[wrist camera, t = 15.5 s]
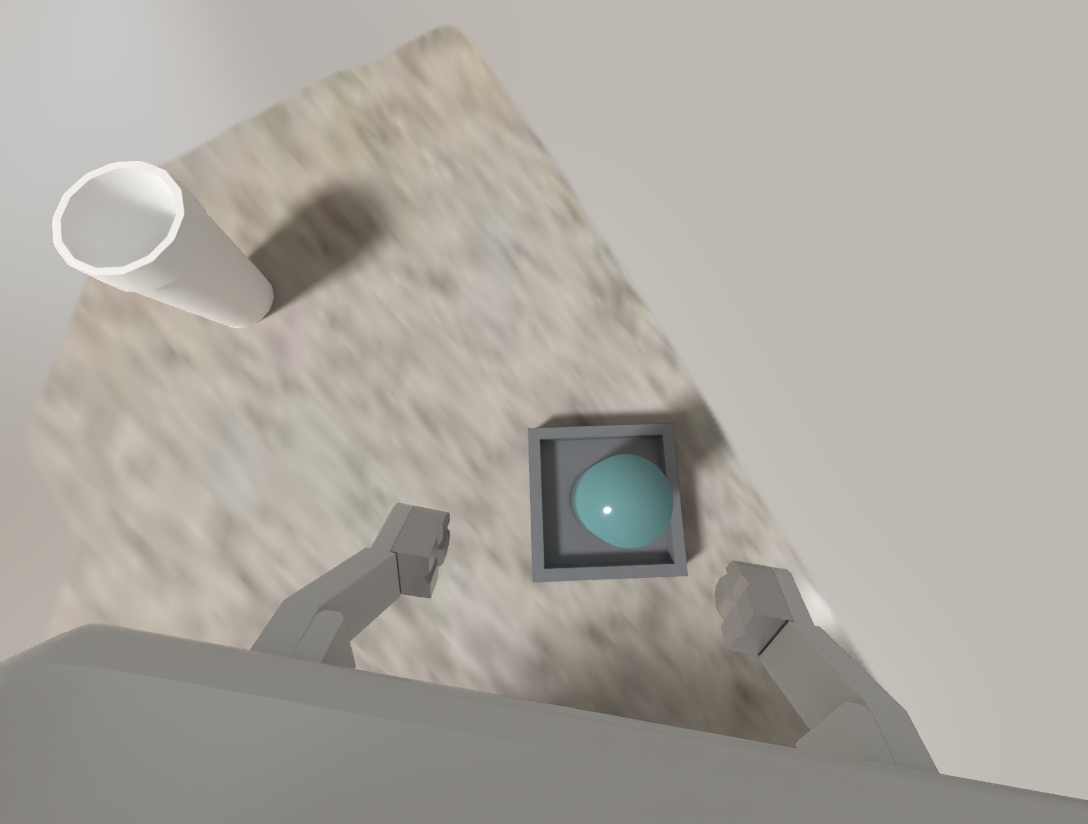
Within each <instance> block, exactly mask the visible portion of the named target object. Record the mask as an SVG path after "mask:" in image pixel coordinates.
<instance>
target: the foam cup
mask: <svg viewBox="0 0 1088 824" xmlns="http://www.w3.org/2000/svg"><path fill="white" fill-rule="evenodd" d="M52 227H53V244H54V246H55V247H56V249H57V250H58V252H59V253H60V254H61V256H62V257H63V258H64V260H65V261H66V263H67V264H68V265H70V266H72V267H74V268H76V269H78V270H80V271H82V272H84V273H86V274H88V275H90V276H92V277H94V278H96V279H98V280H100V281H102V282H104V283H107V284H109V285H111V286H114V287H116V288H118V289H121V290H123V291H133V292H136V293H138V294H141V295H144V296H147V297H150V298H152V299H155V300H158V301H161V302H163V303H166V304H169V305H172V306H174V307H177V308H180V309H183V310H185V311H188V312H191V313H194V314H196V315H199V316H202V317H205V318H207V319H210V320H213V321H216V322H218V323H221V324H224V325H227V326H230V327H233V328H237V327H248V326H251V325H253V324H255V323H257V322H259V321H261V320H262V318H263V317H264V316H265V315H266V314H267V313H268V312H269V311H270V309H271V306H272V303H273V300H274V294H273V288H272V285H271V284H270V283H269V281H268V280H267V279H266V278H265V276H264V275H263V274H262V273H261V272H260V271H259V270H258V268H257V267H256V266H255V265H254V264H253V263H252V262H251V261H250V260H249V259H248V258H247V256H246V255H245V254H244V253H243V252H242V251H241V250H240V249H239V248H238V247H237V246H236V244H235V243H234V242H233V241H232V240H231V239H230V238H229V237H228V236H227V235H226V234H225V232H224V231H223V230H222V229H221V228H220V227H219V226H218V225H217V224H216V223H215V222H214V220H213V219H212V218H211V217H210V216H209V215H208V214H207V213H206V210H205V209H204V207H203V206H202V205H201V204H200V202H199V201H198V200H197V199H196V198H195V196H194V195H193V194H192V193H191V192H190V191H189V190H188V189H187V188H185V187H184V186H183V185H182V184H181V183H180V182H179V181H177V180H176V179H175V178H174V177H173V176H172V175H170V174H169V173H168V172H167V171H165V170H163V169H160V168H158V167H155V166H153V165H150V164H148V163H145V162H143V161H135V162H113V163H111V164H108V165H106V166H103V167H101V168H99V169H96V170H94V171H92V172H89V173H87V174H85V175H84V176H83V177H82V178H81V179H80V180H78V181H77V182H76V183H75V184H74V185H73V186H72V187H71V188H70V189H69V190H68V191H66V192H65V194H64V195H63V197H62V199H61V201H60V203H59V205H58V208H57V210H56V212H55V214H54V216H53V218H52Z"/></svg>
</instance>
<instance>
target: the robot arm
mask: <svg viewBox="0 0 1088 824" xmlns="http://www.w3.org/2000/svg"><path fill="white" fill-rule="evenodd" d="M449 521H450V515H449V513H448V512H443V511H438V510H433V509H428V508H423V507H418V506H412V505H407V504H402V503H397V504H396V505H395V506H394V507H393V509H392V511H391V512H390V514H389V516H388V518H387V520H386V521H385V523H384V525H383V527H382V529H381V531H380V532H379V534H378V536H377V538H376V540H375V541H374V543H373V545H372V547H371V548H364V549H363V550H361V551H360V552H358V553H357V554H355V555H353V556H352V557H350V558H349V559H347V560H346V561H344V562H343V563H341V564H339V565H338V566H336V567H335V568H333V569H332V570H330V571H329V572H327V573H325V574H324V575H322V576H321V577H319V578H318V579H316V580H315V581H313V582H311V583H310V584H308V585H307V586H305V587H304V588H302V589H301V590H299V591H297V592H296V593H294V594H293V595H291V596H290V597H288V598H287V599H285V600H284V601H283V602H282V604H281V605H280V607H279V608H278V609H277V611H276V612H275V614H274V615H273V617H272V618H271V620H270V621H269V623H268V624H267V626H266V627H265V629H264V630H263V632H262V633H261V635H260V636H259V638H258V639H257V640H256V642H255V643H254V645H253V646H252V648H251V649H250V650H246V649H240V648H235V647H229V646H224V645H218V644H213V643H207V642H201V641H196V640H190V639H185V638H179V637H174V636H168V635H163V634H157V633H152V632H146V631H141V630H135V629H130V628H125V627H119V626H114V625H107V624H88V625H84V626H81V627H78V628H76V629H73V630H70V631H68V632H65V633H63V634H60V635H58V636H56V637H54V638H51V639H49V640H47V641H45V642H43V643H40V644H38V645H36V646H34V647H31V648H29V649H27V650H25V651H23V652H21V653H19V654H17V655H15V656H13V657H11V658H8V659H6V660H4V661H2V662H0V824H1088V800H1083V799H1077V798H1071V797H1066V796H1060V795H1055V794H1049V793H1043V792H1038V791H1032V790H1027V789H1021V788H1015V787H1010V786H1004V785H999V784H993V783H987V782H982V781H977V780H971V779H965V778H960V777H954V776H948V775H943V774H939V772H938V770H937V768H936V766H935V764H934V762H933V761H932V759H931V757H930V755H929V753H928V751H927V749H926V747H925V745H924V744H923V742H922V740H921V738H920V736H919V734H918V732H917V730H916V729H915V727H914V725H913V723H912V721H911V719H910V717H909V715H908V713H907V711H906V710H905V709H904V708H903V707H901V705H900V704H898V702H896V701H895V700H894V699H893V698H892V697H891V696H890V695H889V694H888V693H887V692H886V691H885V690H884V689H883V688H882V687H881V686H880V685H879V684H878V683H877V682H876V681H875V680H874V679H873V678H872V677H871V676H870V675H869V674H868V673H867V672H866V671H865V670H864V669H863V668H862V667H861V666H860V665H859V664H857V663H856V662H855V661H854V660H853V659H852V658H851V657H850V656H849V655H848V654H847V653H846V652H845V651H844V650H843V649H842V648H841V647H840V646H839V645H838V644H837V643H836V642H835V641H834V640H833V639H832V638H831V637H830V636H829V635H828V634H827V633H826V632H825V631H824V630H823V629H822V628H821V627H819V626H814V624H813V622H812V619H811V617H810V615H809V613H808V610H807V608H806V606H805V604H804V601H803V599H802V597H801V595H800V592H799V590H798V588H797V586H796V583H795V581H794V579H793V577H792V574H791V573H790V572H789V571H788V570H786V569H780V568H774V567H767V566H764V565H758V564H751V563H745V562H739V561H732V562H730V563H729V564H728V566H727V567H726V570H727V575H725V576H723V577H721V578H720V579H719V581H718V583H717V585H716V591H715V603H716V607H717V611H718V612H719V614H720V615H721V616H722V617H723V618H724V619H725V621H724V623H723V624H722V626H721V627H722V631H723V635H724V639H725V643H726V647H727V650H728V651H733V652H737V653H742V654H747V655H752V656H757V657H758V659H759V661H760V662H761V663H762V665H763V666H764V667H765V669H766V670H767V672H768V673H769V674H770V676H771V677H772V679H773V680H774V681H775V683H776V684H777V685H778V687H779V688H780V690H781V691H782V692H783V694H784V695H785V696H786V698H787V699H788V701H789V702H790V703H791V705H792V706H793V707H794V709H795V710H796V712H797V713H798V714H799V716H800V717H801V718H802V720H803V721H804V723H805V724H806V725H807V727H808V728H809V730H810V731H809V732H808V733H806V734H805V735H804V736H803V737H802V738H800V739H799V740H798V741H797V743H796V744H795V746H796V748H792V747H786V746H781V745H775V744H770V743H764V742H759V741H753V740H748V739H742V738H737V737H731V736H725V735H720V734H714V733H709V732H703V731H698V730H692V729H687V728H681V727H675V726H670V725H664V724H659V723H653V722H648V721H642V720H637V719H631V718H625V717H620V716H614V715H609V714H603V713H598V712H592V711H586V710H581V709H575V708H570V707H564V706H559V705H553V704H547V703H542V702H536V701H531V700H525V699H520V698H514V697H508V696H503V695H497V694H492V693H486V692H480V691H475V690H469V689H464V688H458V687H453V686H447V685H441V684H436V683H430V682H425V681H419V680H413V679H408V678H402V677H397V676H391V675H386V674H380V673H374V672H369V671H363V670H358V669H355V668H356V664H355V660H354V656H353V653H352V649H351V645H350V641H351V640H352V639H353V638H354V637H356V636H357V635H358V634H359V633H360V632H361V631H362V630H363V629H364V628H365V627H367V626H368V625H369V624H370V623H371V622H372V621H373V620H374V619H375V618H377V617H378V616H379V615H380V614H381V613H382V612H383V611H384V610H385V609H386V608H388V607H389V606H390V605H391V604H392V603H393V602H394V601H395V600H396V599H398V598H399V597H400V594H404V595H411V596H418V597H425V598H431V596H432V593H433V590H434V588H435V585H436V582H437V579H438V567H439V566H441V565H442V564H443V563H444V560H445V557H446V554H447V550H448V545H449V538H450V531H449V530H448V529H447V527H448V524H449Z"/></svg>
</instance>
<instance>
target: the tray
mask: <svg viewBox="0 0 1088 824" xmlns="http://www.w3.org/2000/svg"><path fill="white" fill-rule="evenodd" d="M528 438H529V472H530V506H531V539H532V573H533V582H549V581H575V580H600V579H625V578H650V577H675V576H688V572H687V562H686V552H685V542H684V532H683V521H682V511H681V501H680V491H679V481H678V471H677V461H676V451H675V441H674V430H673V423H664V424H636V425H608V426H580V427H552V428H528ZM621 454H631V455H637V456H640V457H643V458H645V459H647V460H649V461H650V462H652V463H653V464H655V465H656V466H657V467H658V468H659V469H660V470H661V471H662V472H663V474H664V475H665V476H666V478H667V480H668V482H669V484H670V487H671V490H672V494H673V512H672V516H671V519H670V522H669V524H668V526H667V527H666V529H665V530H664V532H663V533H662V534H661V535H660V536H659V537H658V538H657V539H655V540H654V541H652V542H651V543H649V544H647V545H644V546H641V547H637V548H622V547H617V546H614V545H611V544H609V543H607V542H606V541H604V540H602V539H601V538H599V537H598V536H596V535H595V534H593V533H592V532H591V531H589V530H588V529H586V528H585V527H583V526H582V525H581V524H580V523H579V522H578V521H577V520H576V519H575V517H574V515H573V513H572V511H571V508H570V503H569V494H570V489H571V486H572V484H573V482H574V480H575V479H576V478H577V476H578V475H579V474H580V473H582V472H583V471H584V470H586V469H588V468H590V467H592V466H594V465H595V464H597V463H599V462H601V461H603V460H605V459H607V458H609V457H612V456H615V455H621Z"/></svg>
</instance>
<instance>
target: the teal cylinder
mask: <svg viewBox="0 0 1088 824" xmlns="http://www.w3.org/2000/svg"><path fill="white" fill-rule="evenodd" d="M569 503H570V508H571V511H572V513H573V515H574V517H575V519H576V520H577V521H578V522H579V523H580V524H581V525H582V526H583V527H585V528H586V529H588V530H589V531H591V532H592V533H593V534H595V535H596V536H598V537H599V538H601V539H602V540H604V541H606V542H607V543H609V544H611V545H614V546H617V547H622V548H637V547H641V546H644V545H647V544H649V543H651V542H652V541H654V540H655V539H657V538H658V537H659V536H660V535H661V534H662V533H663V532H664V530H665V529H666V527H667V526H668V524H669V522H670V519H671V516H672V512H673V494H672V490H671V487H670V484H669V482H668V480H667V478H666V476H665V475H664V474H663V472H662V471H661V470H660V469H659V468H658V467H657V466H656V465H655V464H653V463H652V462H650V461H649V460H647V459H645V458H643V457H640V456H637V455H631V454H621V455H615V456H612V457H609V458H607V459H605V460H603V461H601V462H599V463H597V464H595V465H594V466H592V467H590V468H588V469H586V470H584V471H583V472H582V473H580V474H579V475H578V476H577V478H576V479H575V480H574V482H573V484H572V486H571V489H570V494H569Z"/></svg>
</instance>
